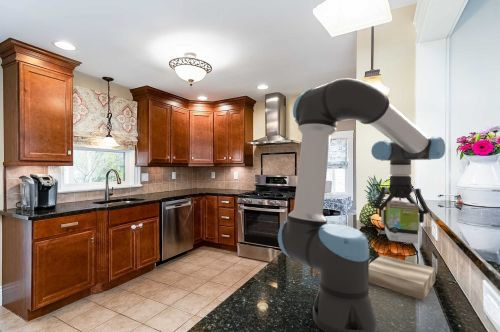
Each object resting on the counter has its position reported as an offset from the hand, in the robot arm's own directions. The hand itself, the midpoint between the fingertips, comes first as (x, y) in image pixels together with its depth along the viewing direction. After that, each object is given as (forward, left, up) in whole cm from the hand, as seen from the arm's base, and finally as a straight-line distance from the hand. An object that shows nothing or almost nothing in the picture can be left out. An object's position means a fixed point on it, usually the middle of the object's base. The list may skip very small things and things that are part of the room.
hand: (400, 227), depth 101 cm
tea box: (0, 0, -4) cm, 4 cm away
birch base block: (-20, -5, -14) cm, 25 cm away
